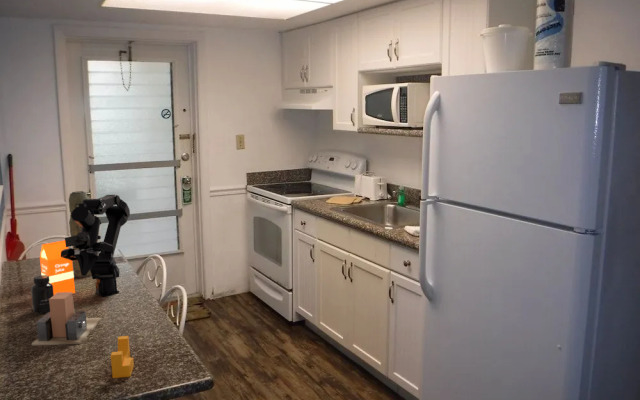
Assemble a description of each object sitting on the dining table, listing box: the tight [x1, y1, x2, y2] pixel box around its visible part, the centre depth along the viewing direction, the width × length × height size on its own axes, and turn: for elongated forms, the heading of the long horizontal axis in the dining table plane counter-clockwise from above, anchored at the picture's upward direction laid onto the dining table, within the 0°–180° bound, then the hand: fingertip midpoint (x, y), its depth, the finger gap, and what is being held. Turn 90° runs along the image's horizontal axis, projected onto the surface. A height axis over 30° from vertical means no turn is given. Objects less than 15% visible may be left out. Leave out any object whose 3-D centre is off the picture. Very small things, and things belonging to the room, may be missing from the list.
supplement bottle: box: [30, 275, 54, 314], centre depth 192 cm, size 7×7×12 cm
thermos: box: [68, 191, 92, 278], centre depth 232 cm, size 9×12×35 cm
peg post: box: [49, 292, 75, 337], centre depth 170 cm, size 6×4×12 cm
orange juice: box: [39, 239, 76, 295], centre depth 209 cm, size 8×9×20 cm
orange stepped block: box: [110, 335, 135, 379], centre depth 149 cm, size 12×4×6 cm, turn 10°
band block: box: [36, 310, 87, 341], centre depth 169 cm, size 8×13×6 cm, turn 93°
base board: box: [31, 317, 103, 346], centre depth 174 cm, size 19×14×1 cm
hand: (83, 275), depth 188 cm, fingers closed
